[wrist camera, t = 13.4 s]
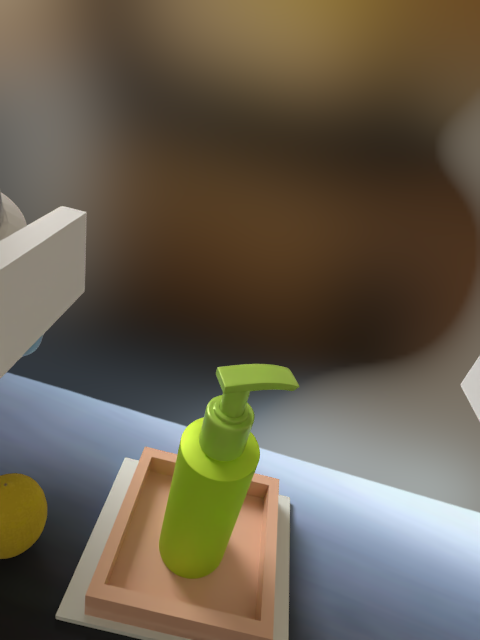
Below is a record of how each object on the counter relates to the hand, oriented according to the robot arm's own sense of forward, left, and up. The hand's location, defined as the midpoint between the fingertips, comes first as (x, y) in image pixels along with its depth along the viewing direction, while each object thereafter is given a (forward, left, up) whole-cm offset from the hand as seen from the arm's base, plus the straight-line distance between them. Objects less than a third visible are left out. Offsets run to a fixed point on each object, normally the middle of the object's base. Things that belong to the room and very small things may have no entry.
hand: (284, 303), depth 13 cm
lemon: (-15, +7, -32) cm, 36 cm away
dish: (0, +10, -31) cm, 33 cm away
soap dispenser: (0, +10, -31) cm, 32 cm away
